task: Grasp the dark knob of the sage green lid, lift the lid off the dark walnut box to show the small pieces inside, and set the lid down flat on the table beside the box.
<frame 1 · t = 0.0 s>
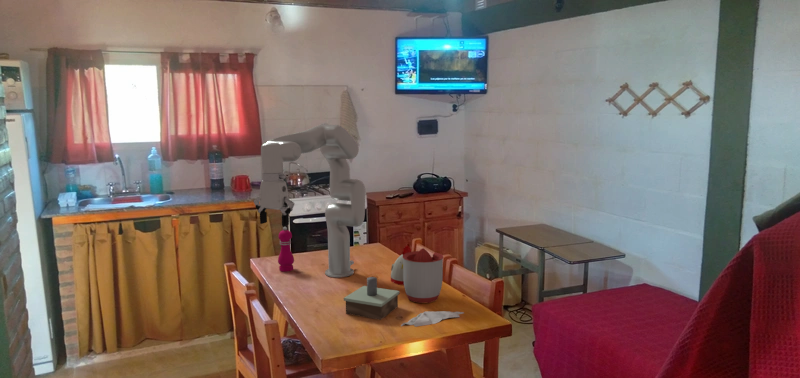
hand: (274, 224, 203), 31 cm above the table, tool pointing down, fingers open, 9 cm apart
citrus juicer: (423, 298, 216), on the table
cloth: (432, 320, 196), on the table
lid: (372, 297, 203), point 5 cm above the table, touching box
kitchen timer: (406, 280, 239), on the table
pepper mill: (286, 270, 254), on the table
box: (372, 310, 203), on the table
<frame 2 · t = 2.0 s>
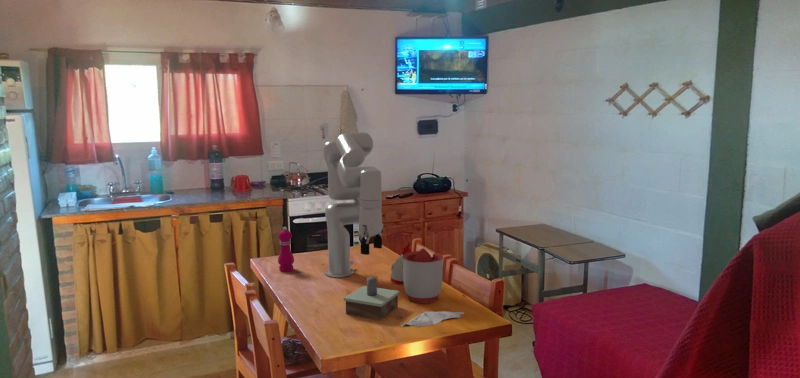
hand: (371, 251, 200), 22 cm above the table, tool pointing down, fingers open, 9 cm apart
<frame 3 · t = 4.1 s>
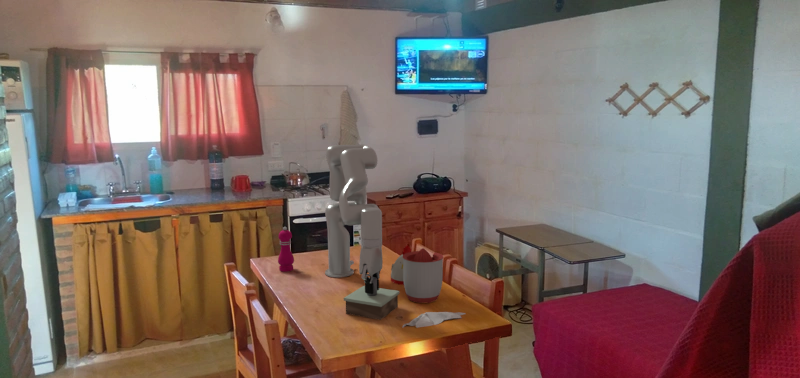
hand: (372, 291, 202), 7 cm above the table, tool pointing down, fingers closed on lid, 3 cm apart
lid: (372, 297, 203), point 5 cm above the table, touching box, gripper
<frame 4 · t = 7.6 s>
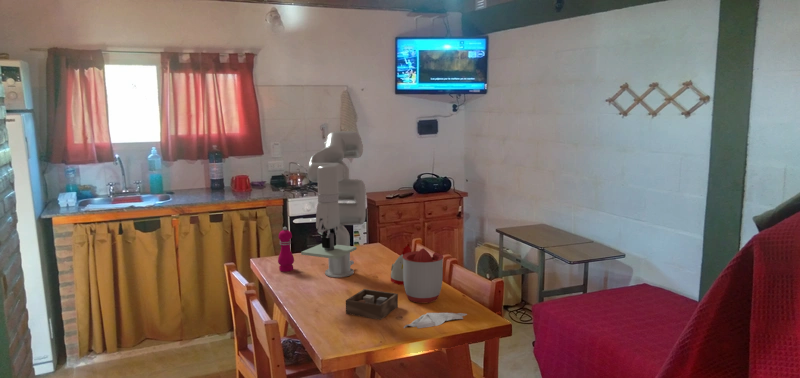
hand: (329, 246, 210), 22 cm above the table, tool pointing down, fingers closed on lid, 3 cm apart
lid: (329, 251, 210), point 19 cm above the table, touching gripper
when the fingers open (4 cm above the table, at t = 11.0 s): lid drops 2 cm, on the table.
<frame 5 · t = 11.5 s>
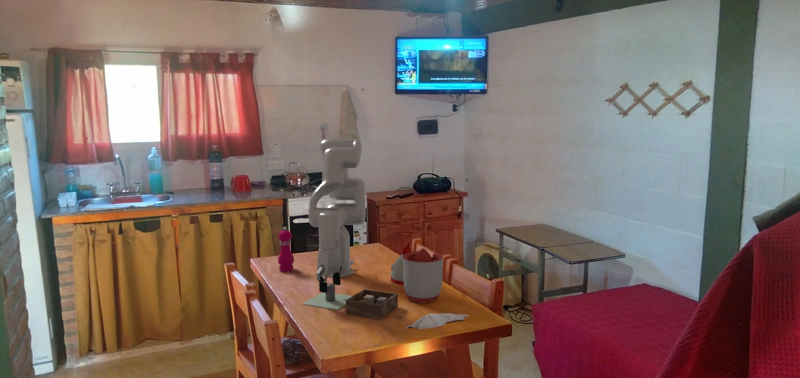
hand: (330, 288, 212), 5 cm above the table, tool pointing down, fingers open, 9 cm apart
lid: (330, 302, 213), on the table
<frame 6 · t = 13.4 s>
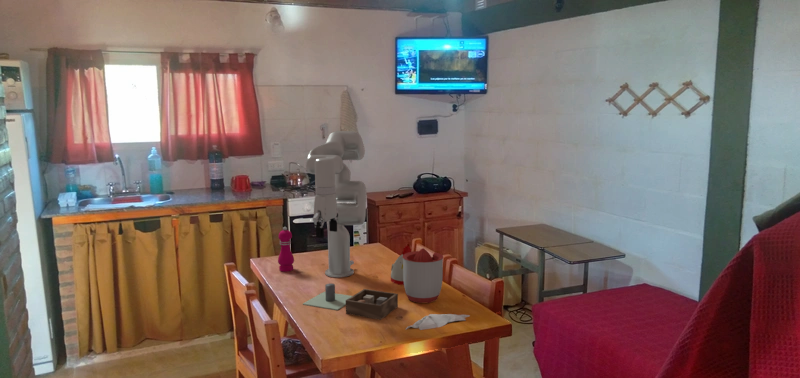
hand: (326, 234, 214), 25 cm above the table, tool pointing down, fingers open, 9 cm apart
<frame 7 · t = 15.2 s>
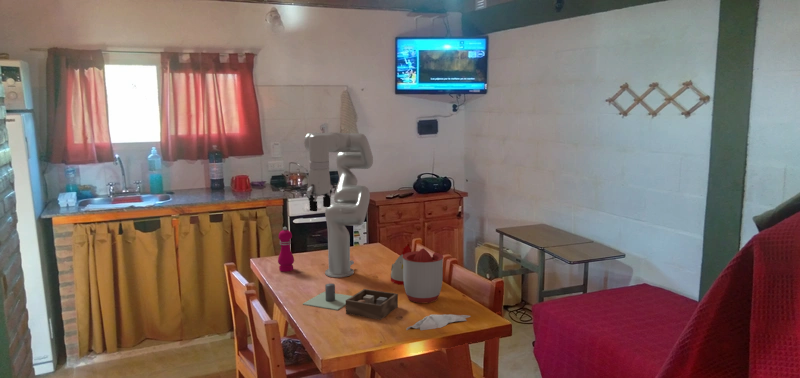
hand: (320, 209, 221), 33 cm above the table, tool pointing down, fingers open, 9 cm apart
at the end: lid touching table; lid inside the target area (0.1 cm from its centre), on the table; lid tilted 0° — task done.
